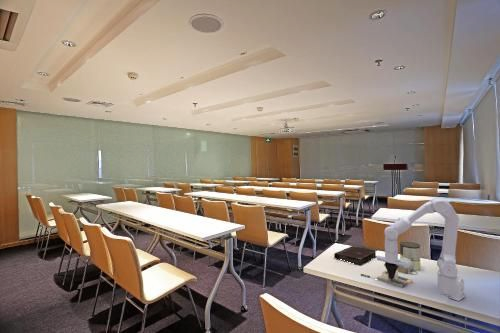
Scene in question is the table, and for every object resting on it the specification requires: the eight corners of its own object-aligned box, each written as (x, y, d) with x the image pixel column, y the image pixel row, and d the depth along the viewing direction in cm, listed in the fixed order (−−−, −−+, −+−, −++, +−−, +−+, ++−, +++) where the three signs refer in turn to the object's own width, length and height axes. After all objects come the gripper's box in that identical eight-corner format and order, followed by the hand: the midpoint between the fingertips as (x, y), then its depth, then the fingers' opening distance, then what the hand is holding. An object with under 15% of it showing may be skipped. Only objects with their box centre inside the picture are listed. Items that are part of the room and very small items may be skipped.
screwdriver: (382, 282, 133) (382, 278, 133) (381, 283, 132) (381, 279, 132) (361, 276, 140) (361, 273, 140) (360, 277, 139) (360, 274, 139)
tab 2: (398, 278, 135) (397, 269, 135) (395, 279, 133) (395, 270, 133) (392, 276, 137) (392, 267, 137) (389, 278, 136) (389, 269, 136)
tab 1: (391, 280, 132) (390, 271, 132) (387, 282, 130) (387, 273, 130) (385, 279, 134) (384, 270, 135) (382, 280, 133) (381, 271, 133)
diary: (333, 260, 169) (333, 252, 169) (352, 251, 186) (351, 244, 186) (362, 267, 155) (361, 258, 156) (379, 257, 172) (378, 250, 172)
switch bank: (412, 284, 130) (412, 280, 130) (402, 290, 124) (401, 285, 124) (388, 276, 140) (388, 272, 140) (377, 281, 134) (377, 277, 134)
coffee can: (396, 265, 156) (395, 242, 156) (409, 264, 159) (409, 241, 159) (410, 272, 146) (410, 247, 146) (425, 270, 149) (424, 245, 149)
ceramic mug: (393, 272, 146) (393, 258, 146) (399, 268, 151) (399, 255, 151) (414, 278, 138) (414, 264, 138) (419, 274, 143) (419, 260, 143)
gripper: (410, 253, 127) (411, 281, 127) (381, 246, 139) (381, 271, 138) (403, 256, 123) (404, 284, 122) (374, 248, 135) (374, 275, 134)
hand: (391, 278), depth 130 cm, fingers closed
